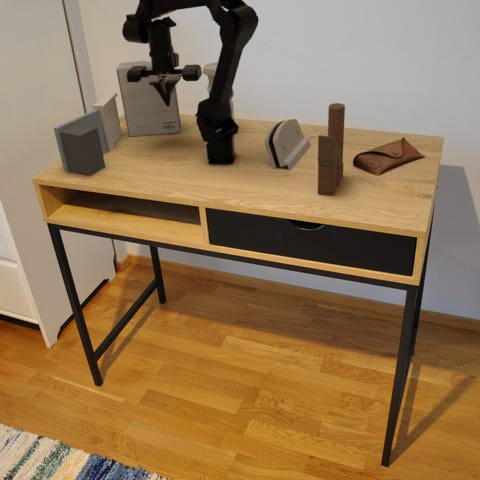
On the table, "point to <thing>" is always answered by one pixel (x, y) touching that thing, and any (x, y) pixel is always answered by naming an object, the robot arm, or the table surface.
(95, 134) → the doorstop block
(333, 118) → the wooden block
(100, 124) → the door
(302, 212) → the table surface
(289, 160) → the hinge
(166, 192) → the table surface
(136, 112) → the hard drive box
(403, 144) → the sunglasses case
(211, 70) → the water bottle
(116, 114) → the wall frame
